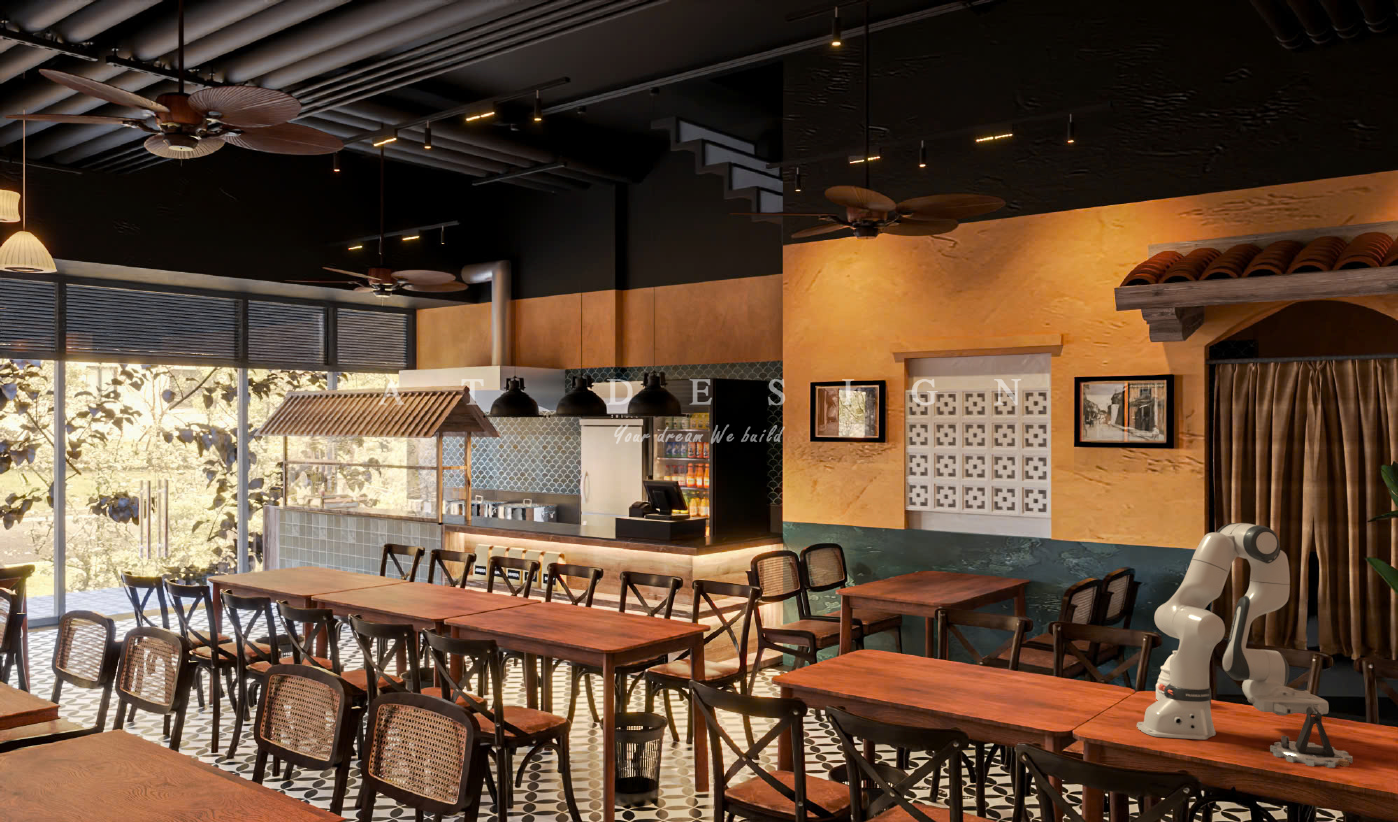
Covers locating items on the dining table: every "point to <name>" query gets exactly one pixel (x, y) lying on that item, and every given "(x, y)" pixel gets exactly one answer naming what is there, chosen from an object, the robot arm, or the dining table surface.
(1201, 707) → the robot arm
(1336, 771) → the dining table surface
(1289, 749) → the sprocket
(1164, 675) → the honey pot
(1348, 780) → the dining table surface
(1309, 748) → the dark grey triangular bracket
